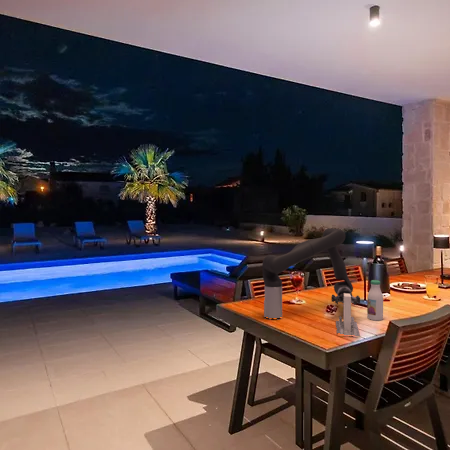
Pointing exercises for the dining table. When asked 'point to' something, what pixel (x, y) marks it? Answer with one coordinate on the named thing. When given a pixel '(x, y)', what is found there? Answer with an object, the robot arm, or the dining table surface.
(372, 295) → the milk bottle
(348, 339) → the dining table surface
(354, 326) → the door track
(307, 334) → the dining table surface
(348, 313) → the grey rectangular block
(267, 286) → the robot arm
